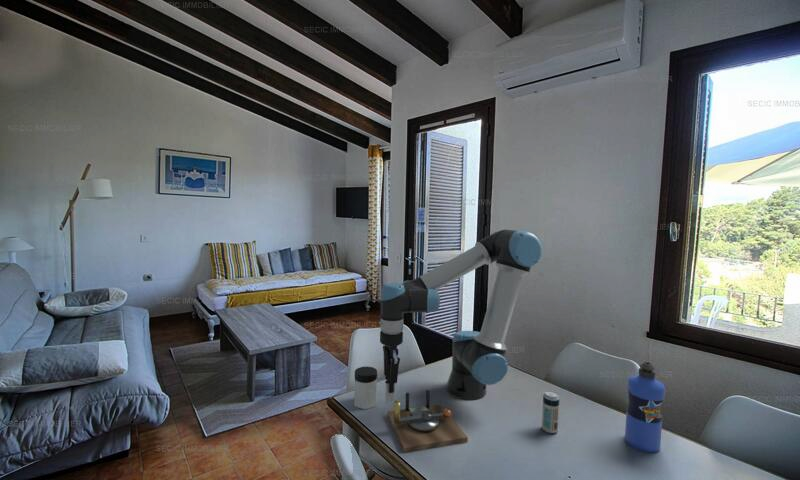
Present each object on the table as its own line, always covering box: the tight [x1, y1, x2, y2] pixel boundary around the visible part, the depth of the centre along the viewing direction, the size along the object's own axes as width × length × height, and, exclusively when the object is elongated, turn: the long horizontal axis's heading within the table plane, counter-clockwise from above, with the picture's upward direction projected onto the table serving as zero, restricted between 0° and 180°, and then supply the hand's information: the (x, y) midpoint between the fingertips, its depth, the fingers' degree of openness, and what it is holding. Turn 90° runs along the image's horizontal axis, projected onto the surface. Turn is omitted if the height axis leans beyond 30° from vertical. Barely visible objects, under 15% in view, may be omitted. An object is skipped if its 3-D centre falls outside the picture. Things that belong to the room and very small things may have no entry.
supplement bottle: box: [541, 390, 561, 434], centre depth 118 cm, size 5×5×12 cm
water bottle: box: [624, 361, 666, 454], centre depth 112 cm, size 9×9×25 cm
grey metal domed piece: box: [393, 400, 452, 432], centre depth 118 cm, size 19×10×8 cm, turn 106°
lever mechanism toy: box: [386, 389, 469, 454], centre depth 118 cm, size 20×20×8 cm
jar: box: [353, 366, 378, 410], centre depth 133 cm, size 9×8×12 cm
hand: (389, 400), depth 123 cm, fingers closed
